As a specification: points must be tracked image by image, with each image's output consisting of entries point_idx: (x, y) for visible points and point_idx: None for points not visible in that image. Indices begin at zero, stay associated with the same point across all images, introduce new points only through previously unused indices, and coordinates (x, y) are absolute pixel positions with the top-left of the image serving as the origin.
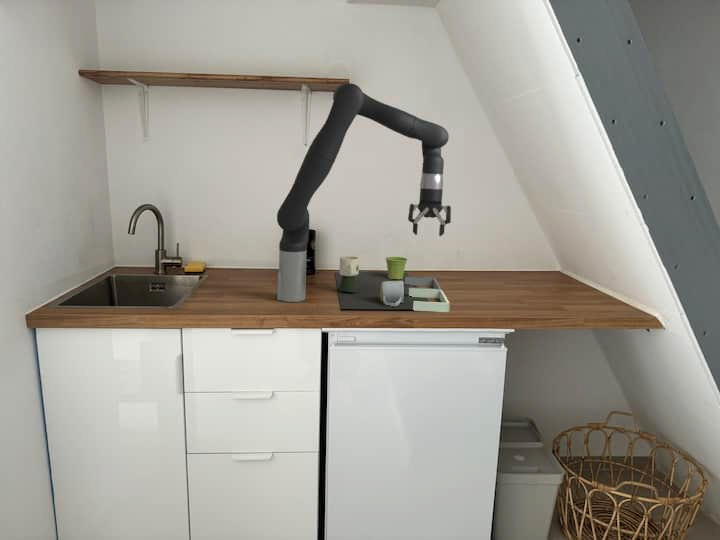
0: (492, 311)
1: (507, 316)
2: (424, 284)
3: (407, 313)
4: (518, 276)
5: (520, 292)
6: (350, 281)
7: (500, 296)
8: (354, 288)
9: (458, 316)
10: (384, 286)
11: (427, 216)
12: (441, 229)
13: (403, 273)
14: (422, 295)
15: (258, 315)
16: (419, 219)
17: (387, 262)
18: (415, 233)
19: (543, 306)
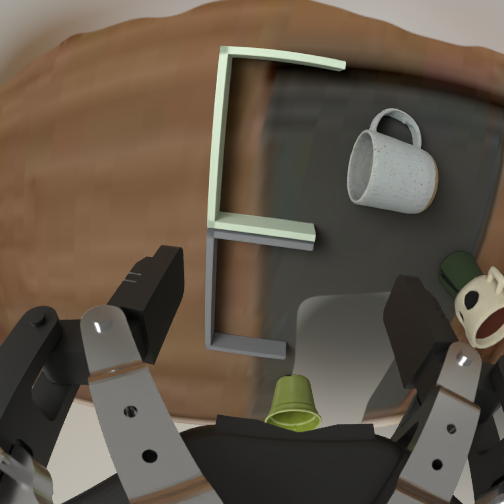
0: (100, 85)
1: (80, 48)
2: (235, 337)
3: (363, 38)
4: None
5: (36, 274)
6: (472, 269)
7: (65, 240)
8: (453, 261)
9: (209, 13)
10: (431, 164)
11: (340, 439)
12: (149, 279)
13: (275, 391)
14: (271, 220)
15: None
16: (441, 386)
17: (317, 412)
18: (417, 277)
19: (5, 164)
